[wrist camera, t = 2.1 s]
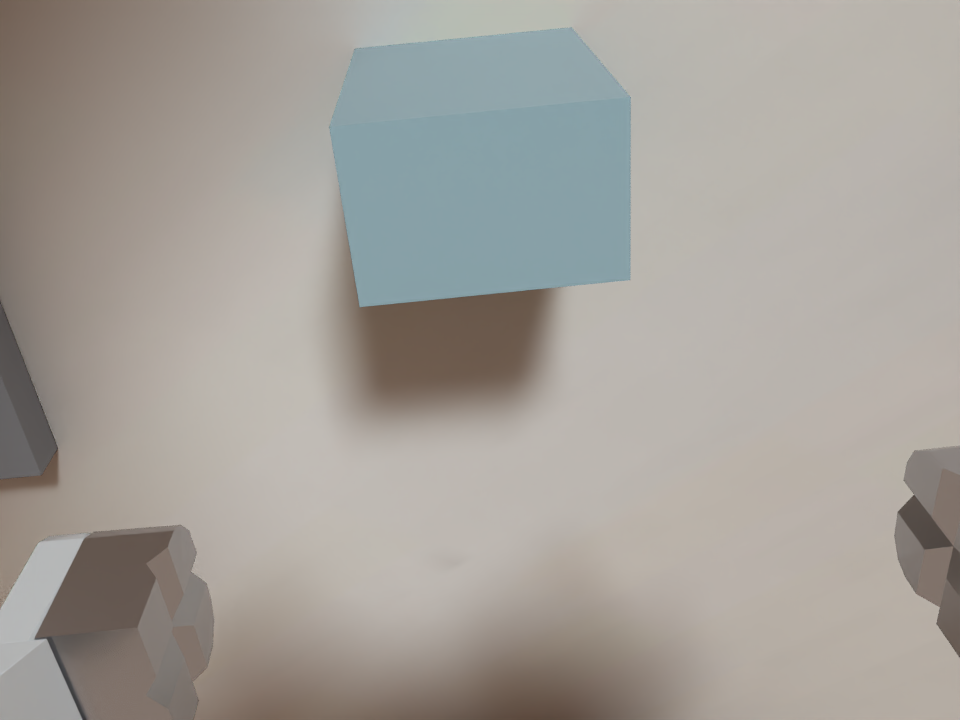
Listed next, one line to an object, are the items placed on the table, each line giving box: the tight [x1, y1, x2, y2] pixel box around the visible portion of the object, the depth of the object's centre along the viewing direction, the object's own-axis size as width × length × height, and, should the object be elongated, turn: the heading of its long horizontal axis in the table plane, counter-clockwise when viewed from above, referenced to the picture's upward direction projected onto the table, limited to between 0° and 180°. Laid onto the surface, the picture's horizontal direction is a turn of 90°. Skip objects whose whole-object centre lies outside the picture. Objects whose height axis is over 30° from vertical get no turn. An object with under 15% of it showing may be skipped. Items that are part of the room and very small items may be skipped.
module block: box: [329, 27, 631, 307], centre depth 22 cm, size 4×6×8 cm, turn 95°
